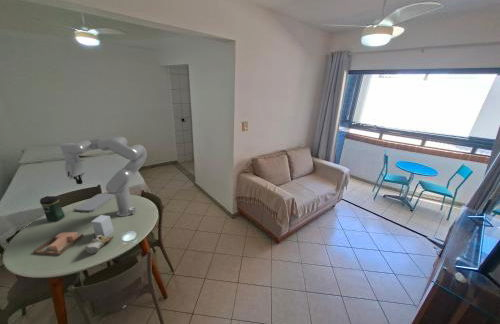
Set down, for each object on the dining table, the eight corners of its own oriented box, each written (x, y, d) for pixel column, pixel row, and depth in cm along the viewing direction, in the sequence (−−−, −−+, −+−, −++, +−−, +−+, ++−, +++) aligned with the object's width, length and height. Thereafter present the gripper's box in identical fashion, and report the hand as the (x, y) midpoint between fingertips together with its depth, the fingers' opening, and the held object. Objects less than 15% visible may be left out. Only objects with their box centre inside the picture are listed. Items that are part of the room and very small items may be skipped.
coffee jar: (67, 216, 148) (59, 195, 141) (56, 222, 140) (48, 200, 134) (56, 214, 148) (48, 193, 142) (45, 221, 141) (36, 199, 135)
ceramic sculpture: (76, 244, 109) (96, 228, 124) (80, 256, 112) (98, 239, 126) (95, 244, 110) (113, 228, 124) (98, 257, 112) (115, 239, 127)
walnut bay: (83, 236, 128) (83, 234, 127) (59, 255, 113) (58, 253, 112) (60, 234, 129) (60, 232, 128) (33, 253, 114) (32, 251, 113)
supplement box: (114, 231, 133) (110, 216, 129) (105, 238, 126) (100, 222, 122) (105, 229, 134) (101, 214, 130) (95, 237, 127) (90, 221, 123)
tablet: (73, 211, 154) (72, 209, 153) (99, 195, 178) (99, 193, 177) (92, 212, 153) (92, 210, 152) (116, 196, 177) (115, 194, 176)
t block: (78, 236, 127) (76, 232, 126) (63, 250, 116) (61, 245, 114) (62, 237, 126) (60, 232, 125) (45, 251, 115) (43, 246, 114)
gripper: (77, 156, 141) (83, 179, 148) (56, 163, 127) (65, 188, 134) (86, 157, 141) (93, 179, 147) (67, 164, 127) (75, 188, 133)
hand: (79, 183), depth 141 cm, fingers closed
